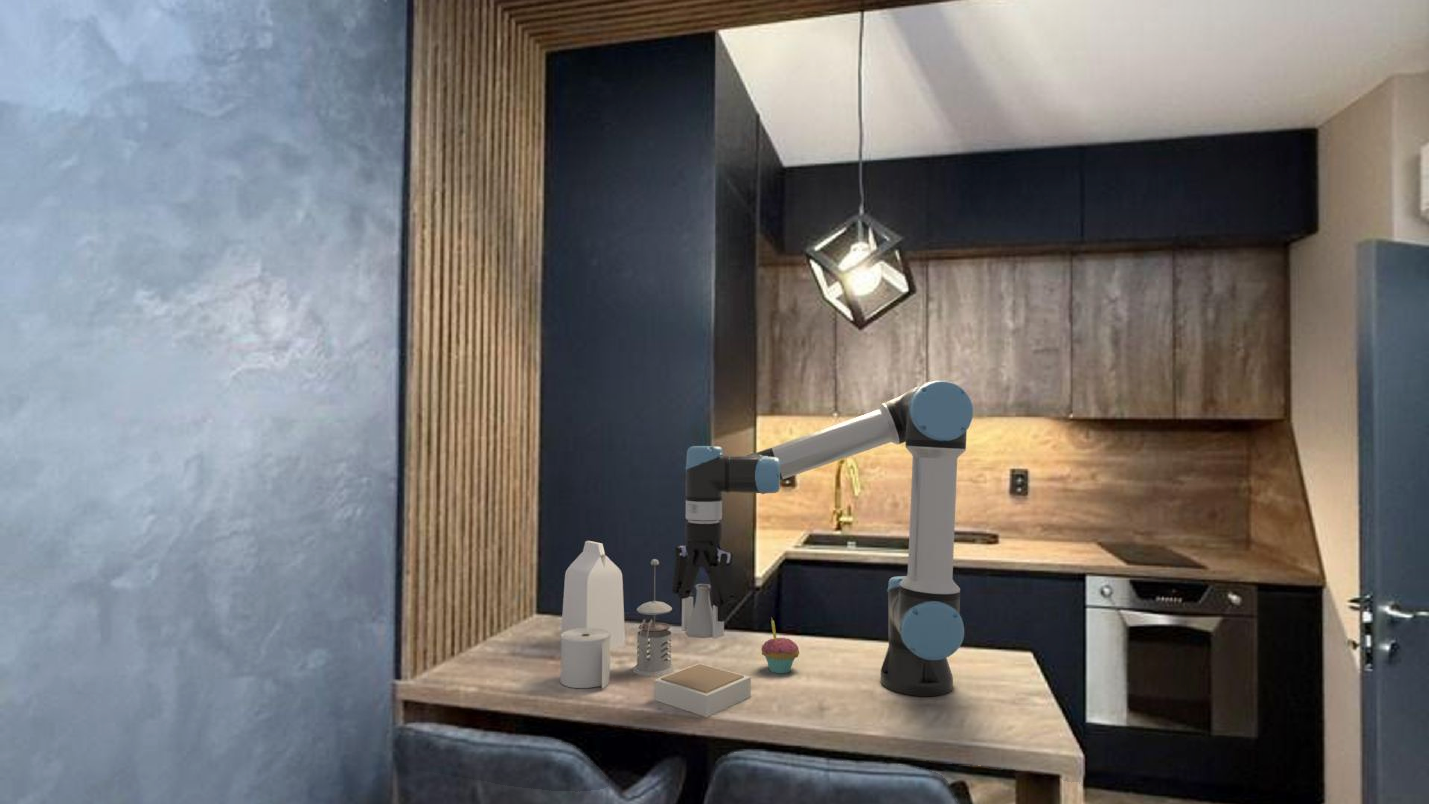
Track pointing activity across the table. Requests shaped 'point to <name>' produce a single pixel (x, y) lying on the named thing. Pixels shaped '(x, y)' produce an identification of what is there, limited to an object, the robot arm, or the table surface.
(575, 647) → the toilet tissue
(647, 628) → the french press
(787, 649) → the cupcake
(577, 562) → the milk
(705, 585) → the flask
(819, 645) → the table surface
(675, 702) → the pedestal
